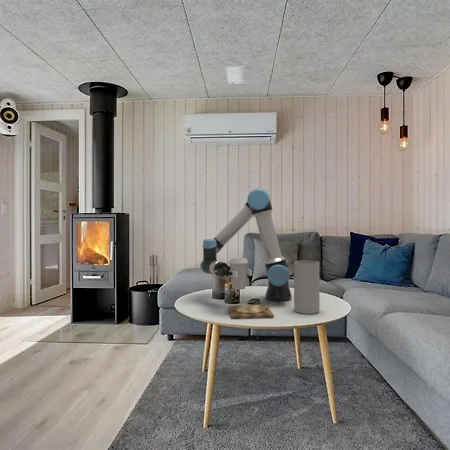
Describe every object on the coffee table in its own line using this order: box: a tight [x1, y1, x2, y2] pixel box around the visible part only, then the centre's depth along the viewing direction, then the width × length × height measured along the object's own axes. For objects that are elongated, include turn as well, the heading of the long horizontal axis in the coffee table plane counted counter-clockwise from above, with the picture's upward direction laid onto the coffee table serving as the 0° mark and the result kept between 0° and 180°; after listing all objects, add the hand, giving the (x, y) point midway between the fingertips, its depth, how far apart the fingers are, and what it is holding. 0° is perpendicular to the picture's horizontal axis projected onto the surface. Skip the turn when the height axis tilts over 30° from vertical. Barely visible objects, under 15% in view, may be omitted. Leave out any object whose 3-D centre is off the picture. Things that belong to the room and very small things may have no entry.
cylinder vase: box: [293, 260, 320, 315], centre depth 183 cm, size 12×12×25 cm
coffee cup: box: [228, 257, 249, 291], centre depth 182 cm, size 10×10×15 cm
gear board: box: [227, 303, 275, 320], centre depth 181 cm, size 20×20×2 cm
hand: (244, 273), depth 178 cm, fingers closed on coffee cup, 8 cm apart
